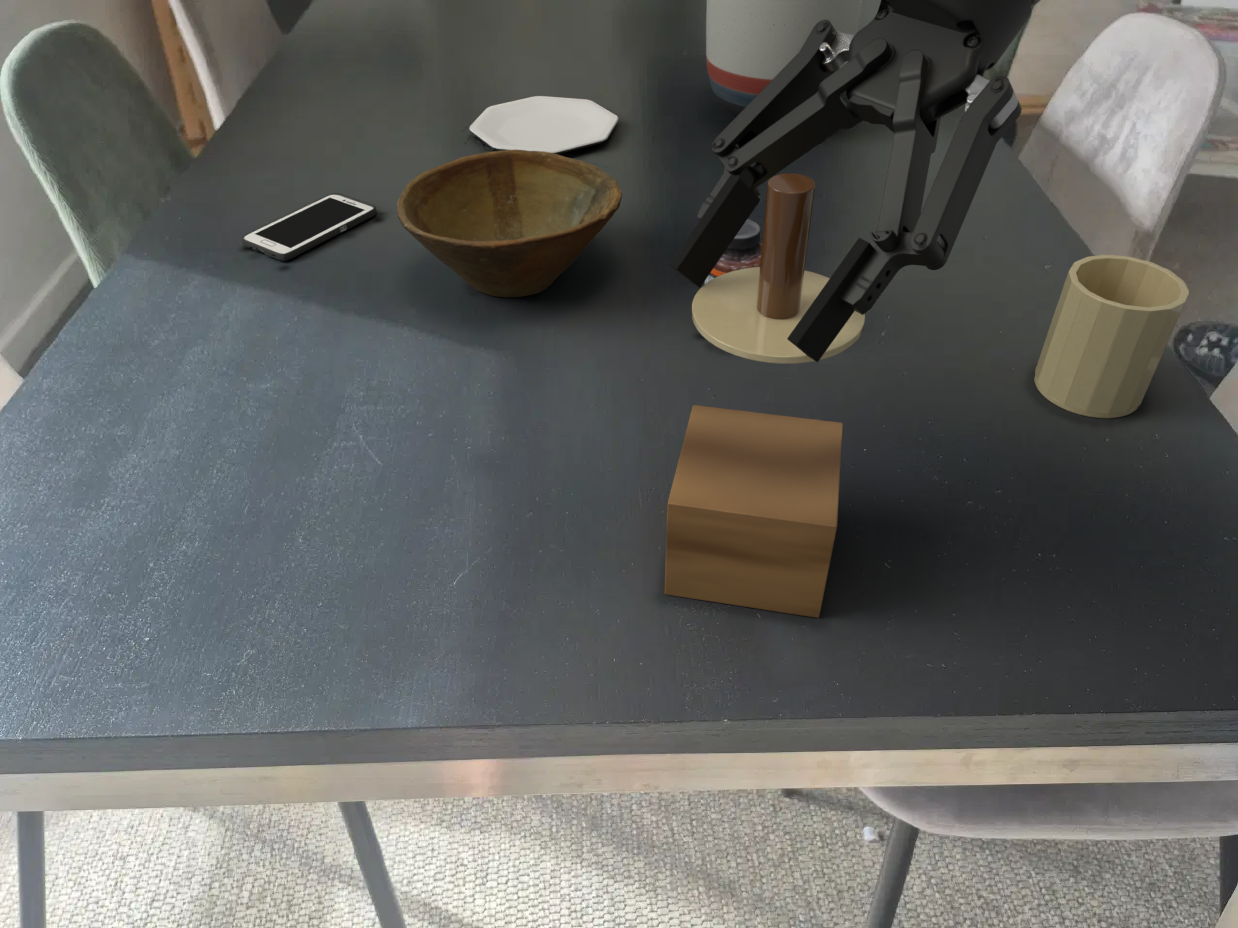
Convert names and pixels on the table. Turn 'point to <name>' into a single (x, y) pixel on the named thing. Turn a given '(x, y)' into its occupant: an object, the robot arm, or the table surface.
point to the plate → (544, 124)
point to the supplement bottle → (740, 252)
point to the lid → (771, 286)
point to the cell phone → (308, 226)
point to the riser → (754, 510)
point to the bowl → (509, 216)
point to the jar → (1108, 334)
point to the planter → (763, 41)
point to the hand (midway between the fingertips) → (740, 311)
